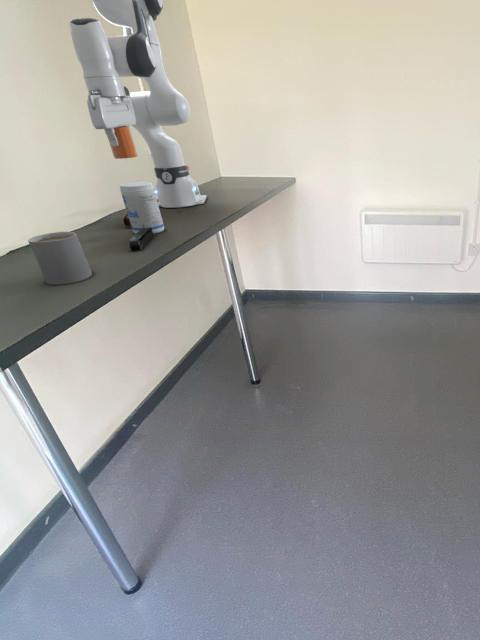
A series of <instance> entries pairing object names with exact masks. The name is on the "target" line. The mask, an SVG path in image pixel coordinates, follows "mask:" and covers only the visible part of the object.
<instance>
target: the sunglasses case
mask: <svg viewBox="0 0 480 640" xmlns="http://www.w3.org/2000/svg"><path fill="white" fill-rule="evenodd" d="M123 224H124V226H126V227H127V228H132V227H131V223H130V220H129V217H128V214H127V213H126V214H125V215H124V218H123Z"/></svg>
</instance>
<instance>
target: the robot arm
mask: <svg viewBox="0 0 480 640" xmlns="http://www.w3.org/2000/svg"><path fill="white" fill-rule="evenodd" d="M91 1H92V4H93V6H94V8H95V9H96V11H97V13H98V14H99V15H100V16H101V17H102V18H103V19H104V20H106V21H107V22H109V23H110V24H112V25H115V26H118V27H122V29H123V35H112V36H111V35H110V36H107V35H106V32H105V30H104V28H103V25H102V23H101V22H100V20H98V19H97V18H91V17H84V18H74V19H72V20H71V21H70V22H69V31H70V37H71V40H72V45H73V47H74V52H75V55H76V58H77V59H78V62H79V64H80V65H81V68H82V73H83V75H82V76H83V79H84V82H85V85H86V89H87V91H88V95H87V100H86V101H87V102H86V104H87V109H88V112H89V117H90V121H91V123H92V126H93V127H94V129H95V130H104V133H105V135H106V137H107V136H108V137H107V139H108V138H109V139H110V141H111V144H112V146H119V145H120V143H119V139H117V138H116V136H115V134H114V132H115V131H114V128H117V127H124V126H129V129H130V130H131V128H130V126H131V127H133V129H135V130H136V131H137V132H138V133H139V134H140V135H141V137H142V138H143V140H144V141H145V143H146V145H147V147H148V150H149V153H150V155H151V159H152V162H153V166H154V168H153V170H154V174H155V177H156V179H157V181H156V182H155V183H154V185H155V190H154V191H155V194H157V195H156V196H157V202H158V206H159V207H162V208H167V209H168V208H169V209H171V208H172V209H173V208H174V209H175V208H185V207H191V206H196V205H202V204H204V203H205V202H206V201H207V198H208V197H207V195H206V194H201V192H200V189H199V185H198V183H197V182H196V181H195V180H194V179H193V178H192V177H191V175H190V172H189V171H190V166H189V165H188V164H185V160H184V156H183V151H182V147H181V145H180V143H179V142H178V141H177V140H176V139H174V138H172V137H171V136H169V135H168V134H166V132H165V131H164V129H163V128H162V127H170V126H180V125H183V124H186V123H188V122H189V120H190V119H191V118H190V117H191V107H190V103H189V101H188V100H187V98H186V97H185V96H184V95H183V94H182V93H181V92H180V91H178V90H177V88H175V86H173V83H171V81H170V79H169V78H168V75H167V72H166V70H165V66H164V62H163V57H162V56H163V55H162V51H161V45H160V40H159V36H158V32H157V29H156V26H155V23H154V22H155V21H157V18H158V16H160V14H161V13H162V10H163V9H164V8H163V7H164V5H163V4H164V3H163V2H164V0H91ZM126 77H128V78H129V77H136V78H139V79H141V80H142V81H144V82H145V83H146V84H147V86H148V90H149V91H134V92H131V90H130V89H129V88H128V87H127V86H125V84H123V82H121V80H120V78H126Z"/></svg>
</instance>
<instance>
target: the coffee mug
mask: <svg viewBox="0 0 480 640" xmlns="http://www.w3.org/2000/svg"><path fill="white" fill-rule="evenodd" d="M28 245H29V246H30V248H31V251H32V253H33V256H34V257H35V260H36V263H37V264H38V267H39V269H40V272H41V273H42V276H43V278H44V280H45V283H46V284H48V285H53V286H57V285H58V286H59V285H68V284H73V283H78V282H81V281H84V280H87V279H88V278H90V277H92V275H93V273H92V270H91V268H90V264H89V263H88V259H87V257H86V255H85V252H84V249H83V246H82V244H81V242H80V240H79V237H78V234H77V233H76V232H74V231H56V232H49V233H45V234H44V233H43V234H39V235H36V236H33V237H32V236H31V237H30V238H28Z"/></svg>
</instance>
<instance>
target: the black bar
mask: <svg viewBox="0 0 480 640" xmlns="http://www.w3.org/2000/svg"><path fill="white" fill-rule="evenodd" d="M154 236H155V234H153V231H152V228H151V227H148V228H142V229H141V230H140V231H139V232H138V233H137V234H135V233H134V235H133V236H132V237H131V238H130V239H129V240H128V246H129V248H130V250H131V251H134V252H135V251H142V250H143V249H144V248H145V247H146V246H147V244H148V243H149V242H150V240H151V239H153V237H154Z"/></svg>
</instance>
